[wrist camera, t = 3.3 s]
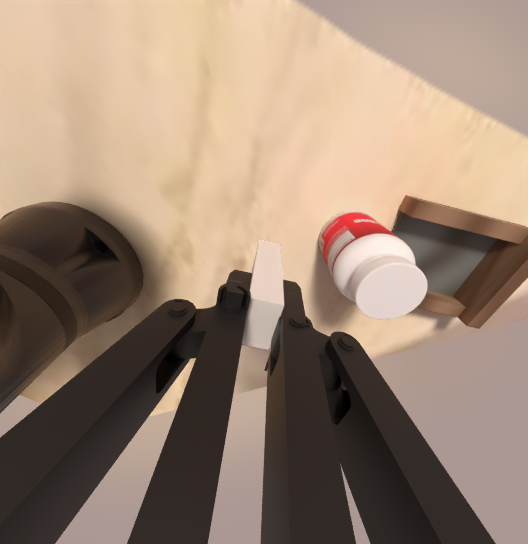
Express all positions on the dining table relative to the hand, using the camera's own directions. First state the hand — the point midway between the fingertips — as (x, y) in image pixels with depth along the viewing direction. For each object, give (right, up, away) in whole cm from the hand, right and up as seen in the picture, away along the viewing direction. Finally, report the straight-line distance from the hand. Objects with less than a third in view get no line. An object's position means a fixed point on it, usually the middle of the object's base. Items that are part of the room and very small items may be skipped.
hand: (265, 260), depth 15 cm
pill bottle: (+9, +3, +10) cm, 13 cm away
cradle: (+18, +1, +10) cm, 21 cm away
